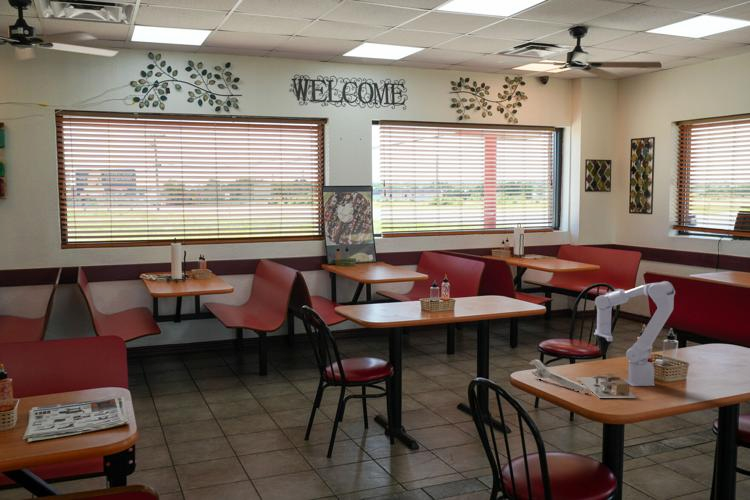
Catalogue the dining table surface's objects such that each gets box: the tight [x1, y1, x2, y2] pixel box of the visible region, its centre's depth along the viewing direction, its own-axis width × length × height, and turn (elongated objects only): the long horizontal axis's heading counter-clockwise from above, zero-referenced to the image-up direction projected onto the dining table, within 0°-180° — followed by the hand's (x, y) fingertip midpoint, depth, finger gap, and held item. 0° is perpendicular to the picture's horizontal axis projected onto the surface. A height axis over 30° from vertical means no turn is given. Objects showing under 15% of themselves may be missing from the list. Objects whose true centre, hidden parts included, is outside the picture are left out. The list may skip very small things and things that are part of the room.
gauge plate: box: [576, 376, 636, 399], centre depth 270 cm, size 14×26×5 cm, turn 2°
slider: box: [591, 373, 621, 386], centre depth 270 cm, size 10×5×4 cm, turn 92°
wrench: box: [529, 359, 590, 394], centre depth 274 cm, size 8×2×30 cm
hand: (603, 354), depth 287 cm, fingers closed
